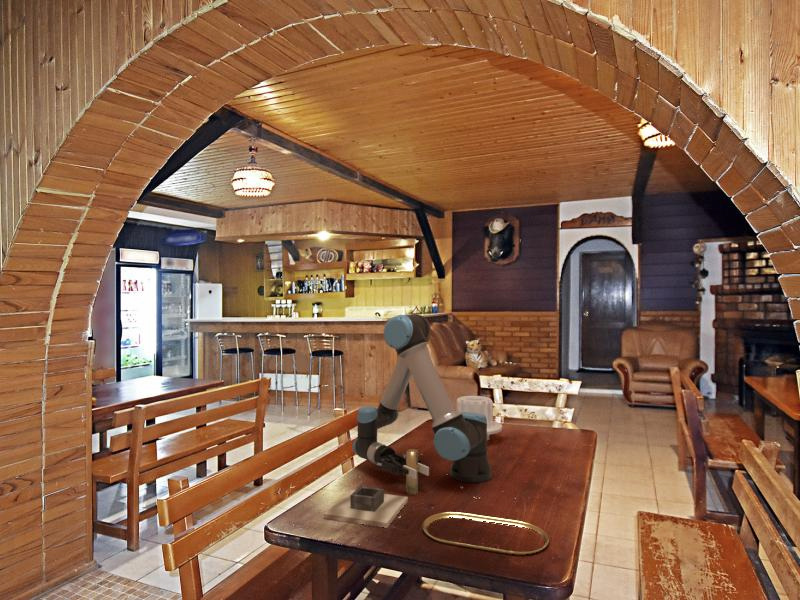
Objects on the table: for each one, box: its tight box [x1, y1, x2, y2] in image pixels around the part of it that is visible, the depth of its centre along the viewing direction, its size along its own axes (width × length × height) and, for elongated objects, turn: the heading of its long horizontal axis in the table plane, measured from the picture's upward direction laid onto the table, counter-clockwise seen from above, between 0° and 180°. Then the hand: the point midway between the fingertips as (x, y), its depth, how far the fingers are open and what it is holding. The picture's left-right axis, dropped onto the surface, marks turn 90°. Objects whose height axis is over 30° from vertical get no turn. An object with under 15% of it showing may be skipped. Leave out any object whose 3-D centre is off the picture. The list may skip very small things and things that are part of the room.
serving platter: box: [422, 511, 550, 556], centre depth 144 cm, size 19×35×2 cm, turn 70°
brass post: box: [405, 448, 419, 495], centre depth 175 cm, size 4×4×14 cm
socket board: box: [323, 485, 409, 529], centre depth 161 cm, size 20×20×6 cm
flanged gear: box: [456, 395, 503, 441], centre depth 238 cm, size 25×25×19 cm
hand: (421, 472), depth 171 cm, fingers open, 4 cm apart
